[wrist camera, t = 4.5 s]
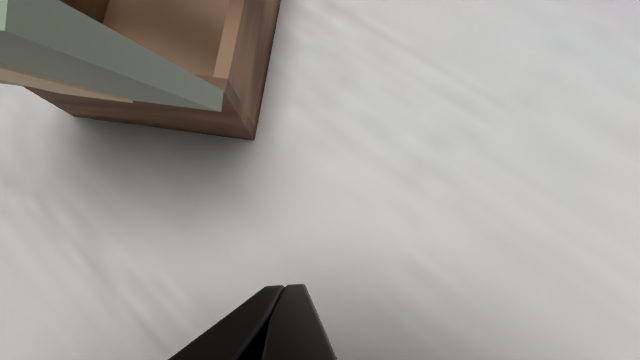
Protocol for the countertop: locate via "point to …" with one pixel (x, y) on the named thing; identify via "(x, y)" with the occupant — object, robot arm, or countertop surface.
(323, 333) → the robot arm
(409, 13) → the countertop surface
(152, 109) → the walnut box
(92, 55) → the box lid
